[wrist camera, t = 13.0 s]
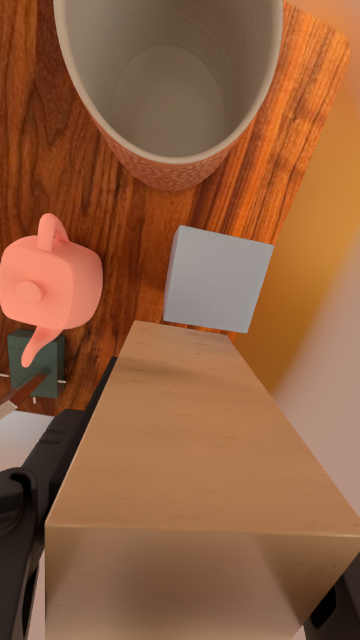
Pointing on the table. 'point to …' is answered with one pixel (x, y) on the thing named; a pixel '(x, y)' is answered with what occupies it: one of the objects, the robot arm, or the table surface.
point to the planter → (171, 78)
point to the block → (191, 505)
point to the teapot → (49, 283)
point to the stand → (214, 279)
